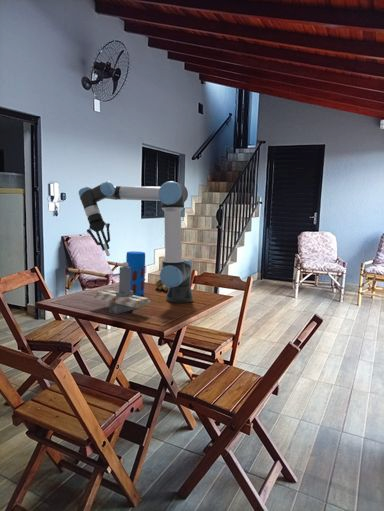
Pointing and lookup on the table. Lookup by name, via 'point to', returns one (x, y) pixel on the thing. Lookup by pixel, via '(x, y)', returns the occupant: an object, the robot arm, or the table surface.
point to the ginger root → (161, 285)
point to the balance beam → (121, 301)
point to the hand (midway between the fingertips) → (108, 255)
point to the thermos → (137, 271)
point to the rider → (124, 281)
